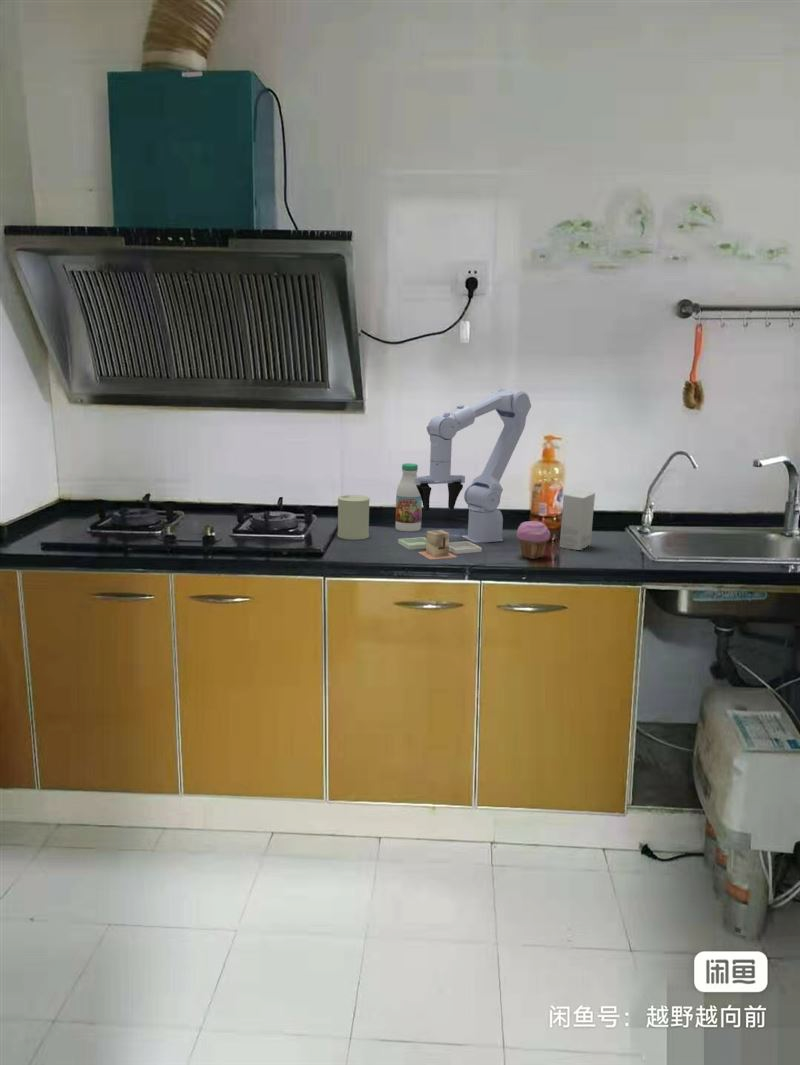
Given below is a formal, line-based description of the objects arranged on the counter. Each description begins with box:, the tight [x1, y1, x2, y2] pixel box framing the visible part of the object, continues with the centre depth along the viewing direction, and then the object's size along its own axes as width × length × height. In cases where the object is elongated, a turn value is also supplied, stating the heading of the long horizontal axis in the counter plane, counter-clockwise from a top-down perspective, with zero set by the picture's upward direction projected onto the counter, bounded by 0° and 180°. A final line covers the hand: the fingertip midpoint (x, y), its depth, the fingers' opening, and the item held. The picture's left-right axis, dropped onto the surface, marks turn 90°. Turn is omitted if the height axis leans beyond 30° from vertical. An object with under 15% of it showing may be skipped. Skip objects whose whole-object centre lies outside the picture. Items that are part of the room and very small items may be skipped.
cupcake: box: [515, 520, 551, 560], centre depth 231 cm, size 9×9×10 cm
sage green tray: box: [397, 536, 427, 551], centre depth 241 cm, size 8×8×2 cm
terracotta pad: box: [417, 550, 458, 561], centre depth 231 cm, size 8×8×1 cm
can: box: [337, 494, 370, 540], centre depth 249 cm, size 9×9×12 cm
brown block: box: [425, 529, 450, 557], centre depth 230 cm, size 4×4×6 cm
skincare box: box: [559, 489, 596, 551], centre depth 243 cm, size 8×7×16 cm
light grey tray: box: [449, 540, 483, 555], centre depth 237 cm, size 8×8×2 cm
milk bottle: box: [395, 463, 423, 532], centre depth 259 cm, size 8×8×20 cm
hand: (438, 509), depth 240 cm, fingers open, 7 cm apart
